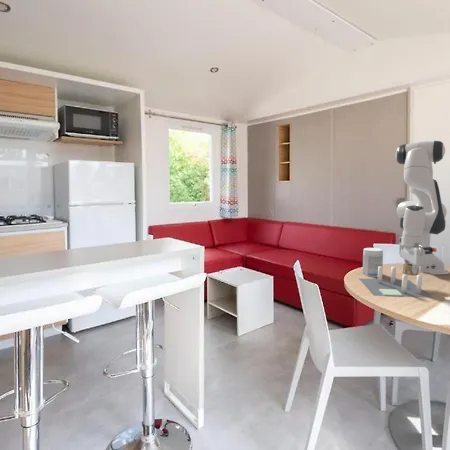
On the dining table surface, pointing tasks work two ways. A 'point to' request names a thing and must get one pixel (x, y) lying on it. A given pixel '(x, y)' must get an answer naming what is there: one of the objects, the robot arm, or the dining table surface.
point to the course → (395, 285)
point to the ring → (409, 270)
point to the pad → (390, 292)
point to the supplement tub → (372, 261)
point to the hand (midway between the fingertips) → (410, 271)
